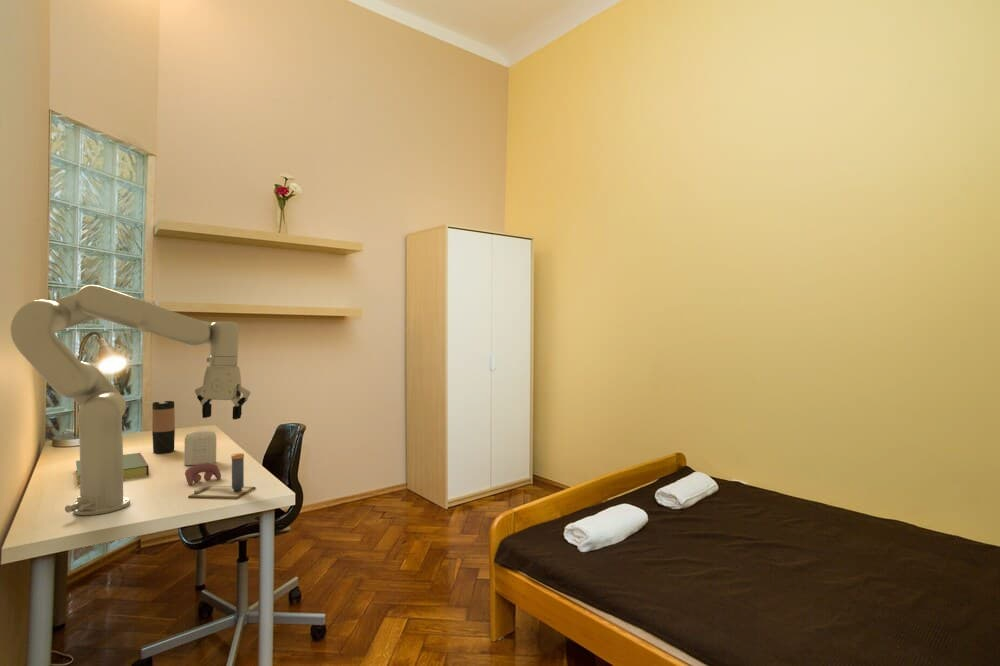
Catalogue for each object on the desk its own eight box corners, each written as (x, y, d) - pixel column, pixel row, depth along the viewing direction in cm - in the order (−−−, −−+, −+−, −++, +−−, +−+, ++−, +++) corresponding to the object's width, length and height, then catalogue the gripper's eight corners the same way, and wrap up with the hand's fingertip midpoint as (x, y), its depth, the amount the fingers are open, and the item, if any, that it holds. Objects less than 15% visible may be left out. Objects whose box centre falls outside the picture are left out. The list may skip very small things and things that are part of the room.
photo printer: (217, 461, 196) (216, 428, 196) (215, 463, 192) (215, 430, 192) (185, 463, 192) (185, 430, 192) (183, 466, 188) (183, 432, 188)
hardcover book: (148, 476, 178) (148, 465, 178) (77, 487, 166) (77, 475, 166) (140, 462, 197) (140, 452, 197) (76, 471, 185) (75, 460, 185)
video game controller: (218, 482, 175) (215, 462, 177) (222, 478, 172) (219, 458, 174) (185, 489, 168) (182, 467, 170) (189, 485, 165) (185, 463, 167)
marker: (240, 492, 157) (239, 456, 157) (229, 492, 157) (229, 455, 157) (246, 489, 160) (246, 453, 160) (235, 488, 160) (235, 453, 160)
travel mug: (167, 453, 207) (166, 403, 207) (147, 453, 207) (147, 403, 207) (179, 449, 215) (178, 400, 215) (160, 449, 215) (160, 400, 215)
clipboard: (237, 499, 153) (237, 494, 153) (188, 497, 154) (188, 493, 154) (255, 488, 163) (255, 484, 163) (209, 487, 164) (209, 483, 164)
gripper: (188, 361, 157) (186, 418, 157) (243, 363, 155) (241, 421, 155) (205, 360, 164) (203, 415, 164) (257, 362, 163) (255, 417, 162)
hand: (221, 418), depth 160 cm, fingers open, 9 cm apart
